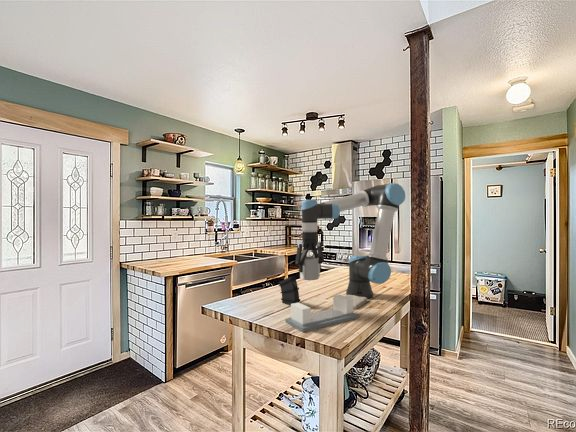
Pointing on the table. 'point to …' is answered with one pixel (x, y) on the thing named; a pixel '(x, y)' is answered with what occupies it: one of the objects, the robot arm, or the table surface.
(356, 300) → the washcloth
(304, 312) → the block
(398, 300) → the table surface
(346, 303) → the module
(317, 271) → the cup
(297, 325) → the rail board
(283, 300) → the black ribbed block
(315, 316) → the steel rail
